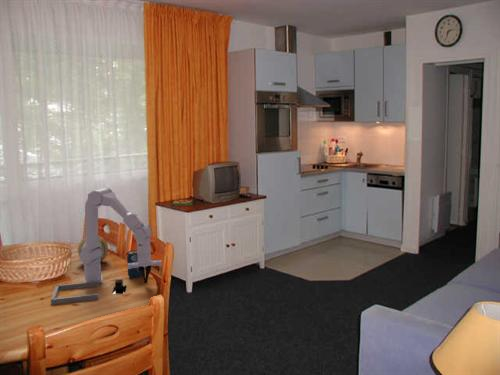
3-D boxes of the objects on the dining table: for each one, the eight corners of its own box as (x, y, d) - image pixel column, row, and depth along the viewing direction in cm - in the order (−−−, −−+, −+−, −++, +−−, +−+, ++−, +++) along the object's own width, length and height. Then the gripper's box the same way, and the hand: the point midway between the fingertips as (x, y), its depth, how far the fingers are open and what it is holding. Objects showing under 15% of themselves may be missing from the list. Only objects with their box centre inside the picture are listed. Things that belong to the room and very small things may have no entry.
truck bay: (56, 289, 214) (56, 285, 214) (99, 284, 219) (99, 280, 218) (51, 304, 197) (50, 299, 197) (98, 299, 202) (97, 294, 202)
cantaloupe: (79, 260, 255) (77, 232, 253) (108, 257, 259) (106, 230, 257) (78, 269, 241) (76, 239, 239) (109, 265, 245) (107, 236, 243)
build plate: (126, 295, 207) (125, 285, 206) (108, 297, 206) (108, 286, 205) (129, 285, 219) (128, 275, 218) (112, 286, 218) (111, 276, 217)
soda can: (141, 279, 225) (139, 254, 223) (126, 279, 225) (124, 254, 223) (144, 274, 232) (143, 249, 230) (130, 274, 232) (128, 249, 230)
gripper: (127, 257, 207) (129, 287, 209) (161, 253, 211) (163, 283, 213) (126, 252, 214) (128, 281, 216) (160, 249, 218) (161, 278, 220)
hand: (145, 282), depth 215 cm, fingers closed
